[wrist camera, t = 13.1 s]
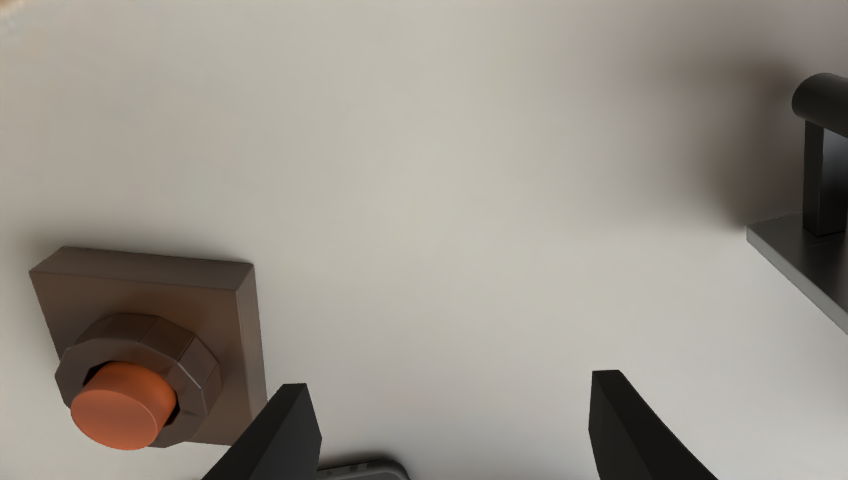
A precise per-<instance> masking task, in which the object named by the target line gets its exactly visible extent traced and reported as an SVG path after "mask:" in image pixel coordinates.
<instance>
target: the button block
mask: <svg viewBox="0 0 848 480" xmlns="http://www.w3.org/2000/svg"><path fill="white" fill-rule="evenodd" d="M29 275H30V278H31V280H32V283H33V286H34V289H35V292H36V295H37V297H38V300H39V303H40V306H41V309H42V312H43V314H44V317H45V320H46V323H47V326H48V329H49V331H50V334H51V337H52V340H53V343H54V346H55V348H56V351H57V354H58V357H59V360H60V364H59V366H58V368H57V371H56V373H55V379H56V382H57V385H58V387H59V390H60V393H61V396H62V398H63V401H64V403H65V404H66V406H67V407H68V408H70V409H71V404H72V401H73V400H74V398H75V397H76V396H77V395H78V394H79V392H80V391H81V390H82V389H83V388H84V387H85V386H86V384H87V383H88V382H89V381H90V380H91V379H92V378H93V376H94V375H95V374H96V373H97V372H98V371H99V370H100V369H101V367H103V366H104V365H106V364H108V363H111V362H114V361H123V362H134V363H137V364H139V365H141V366H143V367H145V368H147V369H149V370H151V371H153V372H155V373H158V374H160V375H161V376H162V377H163V378H164V379H165V380H166V381H167V382H168V383H169V384H170V385H171V387H172V388H173V389H174V390H175V393H176V398H177V399H176V406H175V408H174V410H173V411H172V413H171V414H170V416H169V418H168V419H167V421H166V422H165V424H164V426H163V427H162V429H161V430H160V432H159V434H158V435H157V437H156V438H155V440H154V441H153V442H152V443H151V444H149V445H148V446H147V447H157V448H166V447H169V446H172V445H175V444H178V443H181V442H184V441H185V442H196V443H206V444H217V445H228V446H232V445H233V444H234V443H235V442H236V440H237V439H238V438H239V437H240V436H241V434H242V433H243V432H244V431H245V430H246V429H247V427H248V426H249V425H250V424H251V423H252V421H253V420H254V419H255V418H256V416H257V415H258V414H259V413H260V412H261V410H262V409H263V408H264V407H265V405H266V404H267V394H266V384H265V374H264V363H263V353H262V343H261V333H260V323H259V312H258V302H257V292H256V282H255V271H254V265H253V264H244V263H233V262H222V261H212V260H201V259H190V258H180V257H169V256H158V255H147V254H137V253H126V252H115V251H104V250H94V249H83V248H72V247H61V248H60V249H58V250H57V251H55V252H54V253H53V254H51V255H50V256H49V257H47V258H46V259H44V260H43V261H42V262H40V263H39V264H38V265H36V266H35V267H33V268H32V269H31V270H29Z"/></svg>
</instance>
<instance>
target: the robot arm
mask: <svg viewBox="0 0 848 480" xmlns="http://www.w3.org/2000/svg"><path fill="white" fill-rule="evenodd" d="M588 430H589V435H590V440H591V444H592V449H593V453H594V458H595V462H596V466H597V470H598V474H599V477H600V480H718V479H717V478H716V477H715V476H714V475H713V474H712V473H711V472H710V471H709V470H708V469H707V468H706V467H705V466H704V465H703V464H702V463H701V462H700V461H699V460H698V459H697V458H696V457H695V456H694V455H693V454H692V453H691V452H690V451H689V450H688V449H687V448H686V447H685V446H684V445H683V444H682V443H681V441H680V440H679V439H678V438H677V437H676V436H675V435H674V434H673V433H672V432H671V431H670V429H669V428H668V427H667V426H666V425H665V424H664V423H663V422H662V421H661V419H660V418H659V417H658V416H657V415H656V414H655V413H654V411H653V410H652V409H651V408H650V407H649V405H648V404H647V403H646V402H645V401H644V400H643V398H642V397H641V396H640V395H639V393H638V392H637V391H636V390H635V389H634V387H633V386H632V385H631V383H630V382H629V381H628V380H627V378H626V377H625V376H624V375H623V373H622V372H620V371H619V370H600V371H593V372H592V386H591V400H590V414H589V428H588ZM321 441H322V437H321V433H320V430H319V426H318V423H317V419H316V416H315V412H314V409H313V405H312V402H311V398H310V395H309V391H308V388H307V385H306V383H297V384H283V385H282V386H281V387H280V388H279V390H278V391H277V392H276V393H275V394H274V396H273V397H272V398H271V399H270V400H269V402H268V403H267V404H266V405H265V407H264V408H263V409H262V410H261V412H260V413H259V414H258V415H257V416H256V418H255V419H254V420H253V421H252V423H251V424H250V425H249V426H248V427H247V429H246V430H245V431H244V432H243V433H242V434H241V436H240V437H239V438H238V439H237V440H236V442H235V443H234V444H233V445H232V446H231V447H230V449H229V450H228V451H227V452H226V453H225V454H224V455H223V457H222V458H221V459H220V460H219V461H218V462H217V463H216V464H215V465H214V466H213V467H212V469H211V470H210V471H209V472H208V473H207V474H206V475H205V476H204V477H203V478H202V479H201V480H315V476H316V471H317V466H318V460H319V454H320V447H321Z"/></svg>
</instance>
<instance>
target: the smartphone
mask: <svg viewBox="0 0 848 480" xmlns="http://www.w3.org/2000/svg"><path fill="white" fill-rule="evenodd" d="M315 480H410V478H409V476H408V474H407V472H406V470H405V469H404V467H403V466H402V465H401V464H399V463H398V462H396V461H393V460H381V461H374V462H369V463H363V464H357V465H351V466H345V467H339V468H333V469H327V470H321V471H316V476H315Z"/></svg>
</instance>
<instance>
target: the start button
mask: <svg viewBox="0 0 848 480" xmlns="http://www.w3.org/2000/svg"><path fill="white" fill-rule="evenodd" d="M176 399H177V398H176V393H175V390H174V389H173V388H172V387H171V385H170V384H169V383H168V382H167V381H166V380H165V379H164V378H163V377H162V376H161V375H160V374H158V373H155V372H153V371H151V370H149V369H147V368H145V367H143V366H141V365H139V364H137V363H134V362H123V361H114V362H111V363H108V364H106V365H104V366H103V367H101V369H100V370H99V371H98V372H97V373H96V374H95V375H94V376H93V378H92V379H91V380H90V381H89V382H88V383H87V384H86V386H85V387H84V388H83V389H82V390H81V391H80V392H79V394H78V395H77V396H76V397H75V398H74V400H73V401H72V404H71V416H72V419H73V421H74V422H75V424H76V426H77V427H78V428H79V429H80V430H81V431H82V432H83V433H84V434H85V435H86V436H88V437H89V438H91V439H92V440H94V441H96V442H98V443H100V444H102V445H105V446H107V447H111V448H115V449H120V450H136V449H141V448H144V447H146V446H148V445H149V444H151V443H152V442H153V441H154V440H155V438H156V437H157V435H158V434H159V432H160V430H161V429H162V427H163V426H164V424H165V422H166V421H167V419H168V418H169V416H170V414H171V413H172V411H173V410H174V408H175V406H176Z"/></svg>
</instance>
